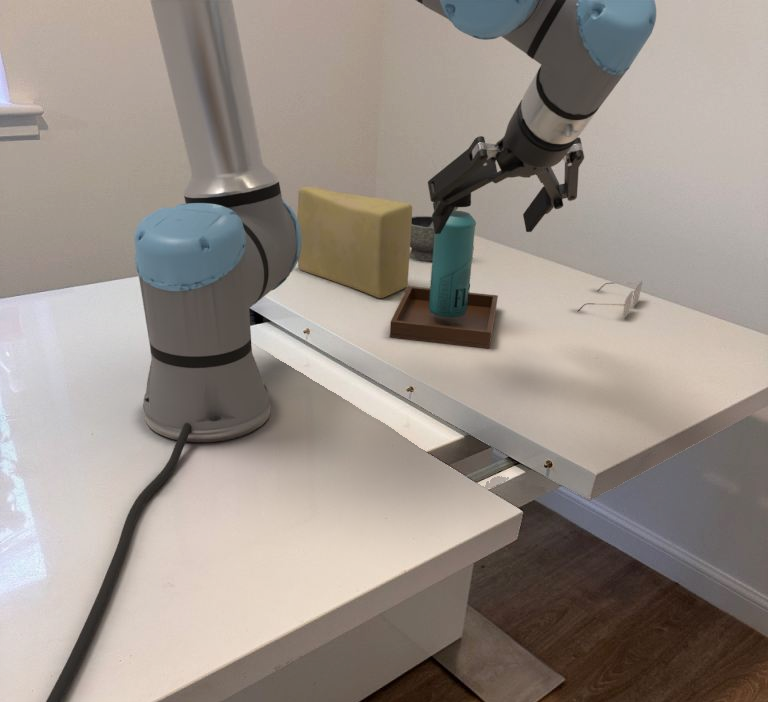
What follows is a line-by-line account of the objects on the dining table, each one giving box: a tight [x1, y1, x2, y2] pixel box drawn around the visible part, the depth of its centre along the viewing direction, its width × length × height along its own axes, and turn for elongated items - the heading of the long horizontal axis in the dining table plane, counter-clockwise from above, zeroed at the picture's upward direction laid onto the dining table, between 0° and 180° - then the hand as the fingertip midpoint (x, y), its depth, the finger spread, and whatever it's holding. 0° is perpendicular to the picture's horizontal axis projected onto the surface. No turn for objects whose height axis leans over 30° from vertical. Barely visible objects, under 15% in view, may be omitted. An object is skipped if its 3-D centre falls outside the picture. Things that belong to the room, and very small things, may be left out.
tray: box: [389, 285, 499, 349], centre depth 118 cm, size 18×16×3 cm
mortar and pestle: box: [409, 207, 459, 262], centre depth 145 cm, size 11×9×12 cm
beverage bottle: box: [428, 192, 477, 317], centre depth 112 cm, size 6×7×20 cm
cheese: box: [296, 186, 413, 299], centre depth 129 cm, size 22×10×15 cm, turn 56°
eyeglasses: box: [577, 279, 643, 319], centre depth 128 cm, size 14×8×4 cm, turn 151°
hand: (482, 224), depth 100 cm, fingers open, 13 cm apart
